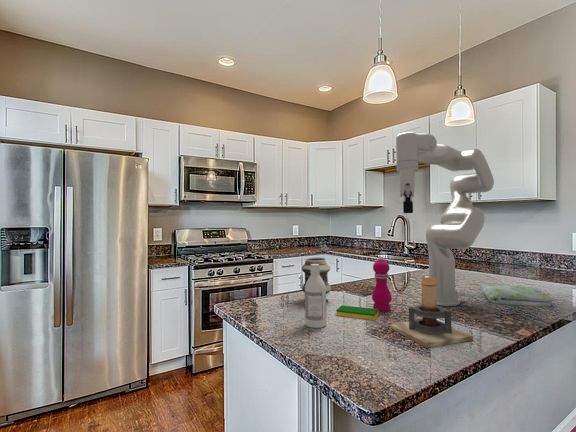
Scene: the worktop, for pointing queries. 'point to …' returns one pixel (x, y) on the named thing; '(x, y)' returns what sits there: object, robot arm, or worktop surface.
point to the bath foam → (315, 299)
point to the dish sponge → (357, 312)
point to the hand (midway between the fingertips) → (408, 213)
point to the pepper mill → (381, 286)
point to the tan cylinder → (429, 299)
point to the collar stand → (431, 328)
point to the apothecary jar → (323, 271)
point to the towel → (515, 295)
